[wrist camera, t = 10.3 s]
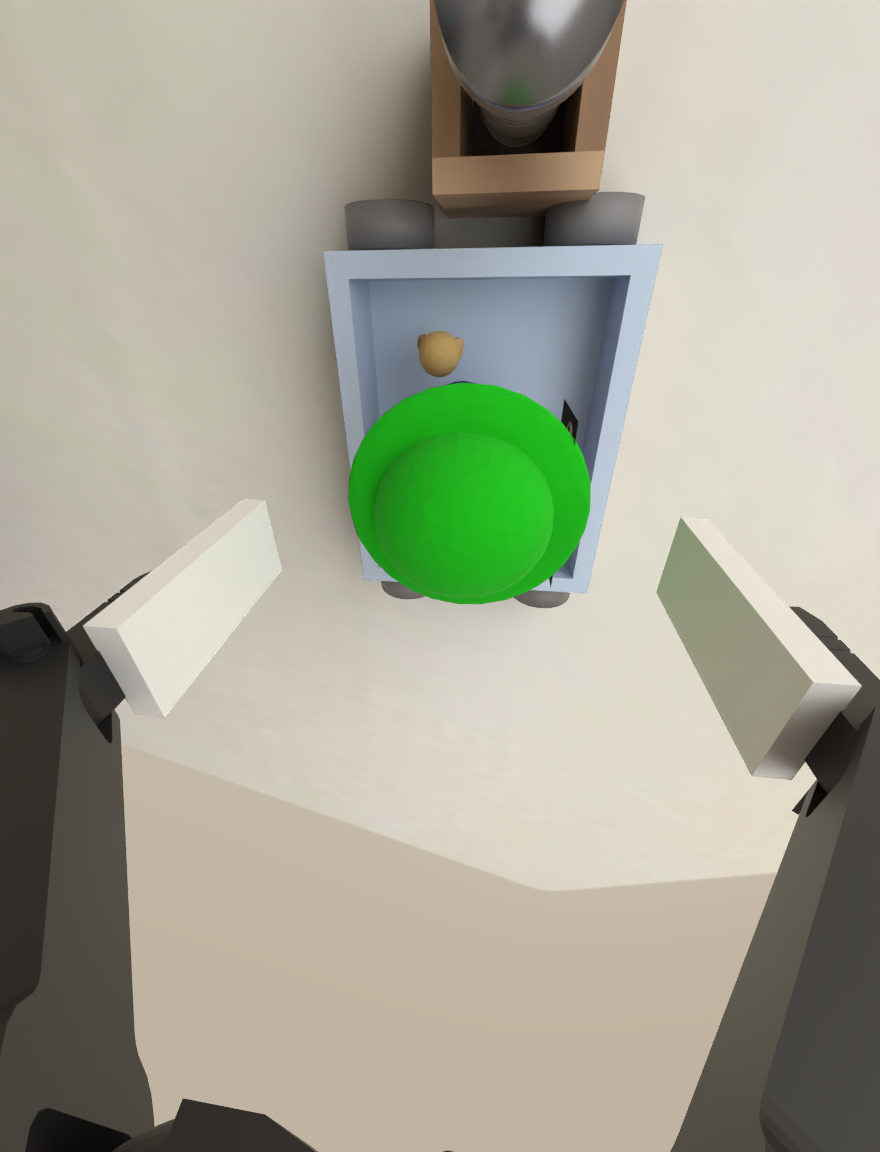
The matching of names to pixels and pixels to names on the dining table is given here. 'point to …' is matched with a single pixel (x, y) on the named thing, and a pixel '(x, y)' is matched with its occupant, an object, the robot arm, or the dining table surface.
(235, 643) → the dining table surface
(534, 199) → the box
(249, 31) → the dining table surface
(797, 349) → the dining table surface
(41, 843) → the robot arm
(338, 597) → the dining table surface
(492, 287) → the chassis
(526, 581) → the toy
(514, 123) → the pin
